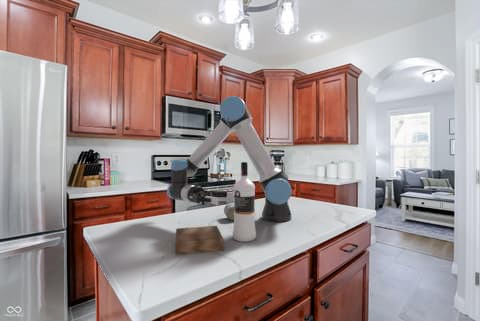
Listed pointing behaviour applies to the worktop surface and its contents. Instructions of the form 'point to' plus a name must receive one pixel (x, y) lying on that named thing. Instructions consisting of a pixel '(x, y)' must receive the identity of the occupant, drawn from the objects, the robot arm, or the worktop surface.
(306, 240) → the worktop surface
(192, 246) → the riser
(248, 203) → the vodka
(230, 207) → the ceramic mug
